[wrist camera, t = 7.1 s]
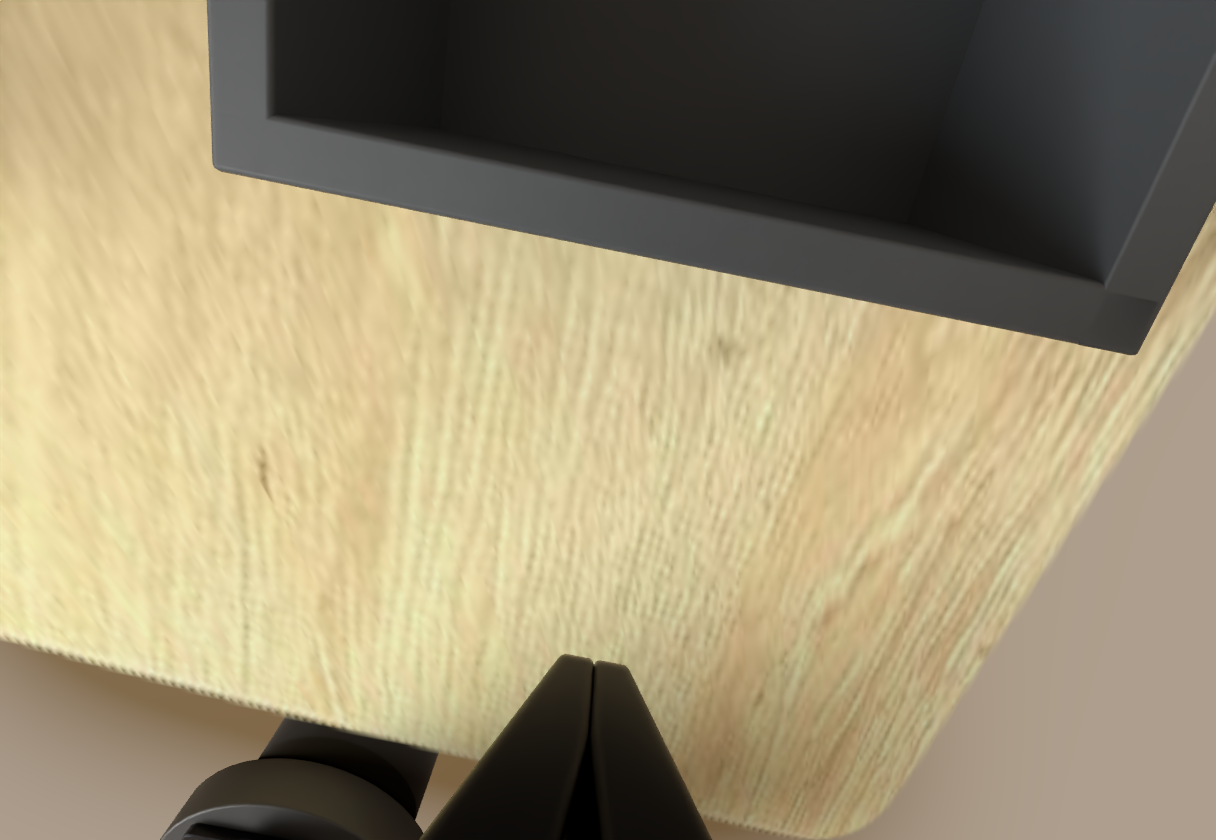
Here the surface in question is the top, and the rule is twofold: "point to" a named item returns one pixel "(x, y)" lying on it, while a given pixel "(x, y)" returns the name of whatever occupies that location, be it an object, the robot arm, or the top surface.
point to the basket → (765, 137)
